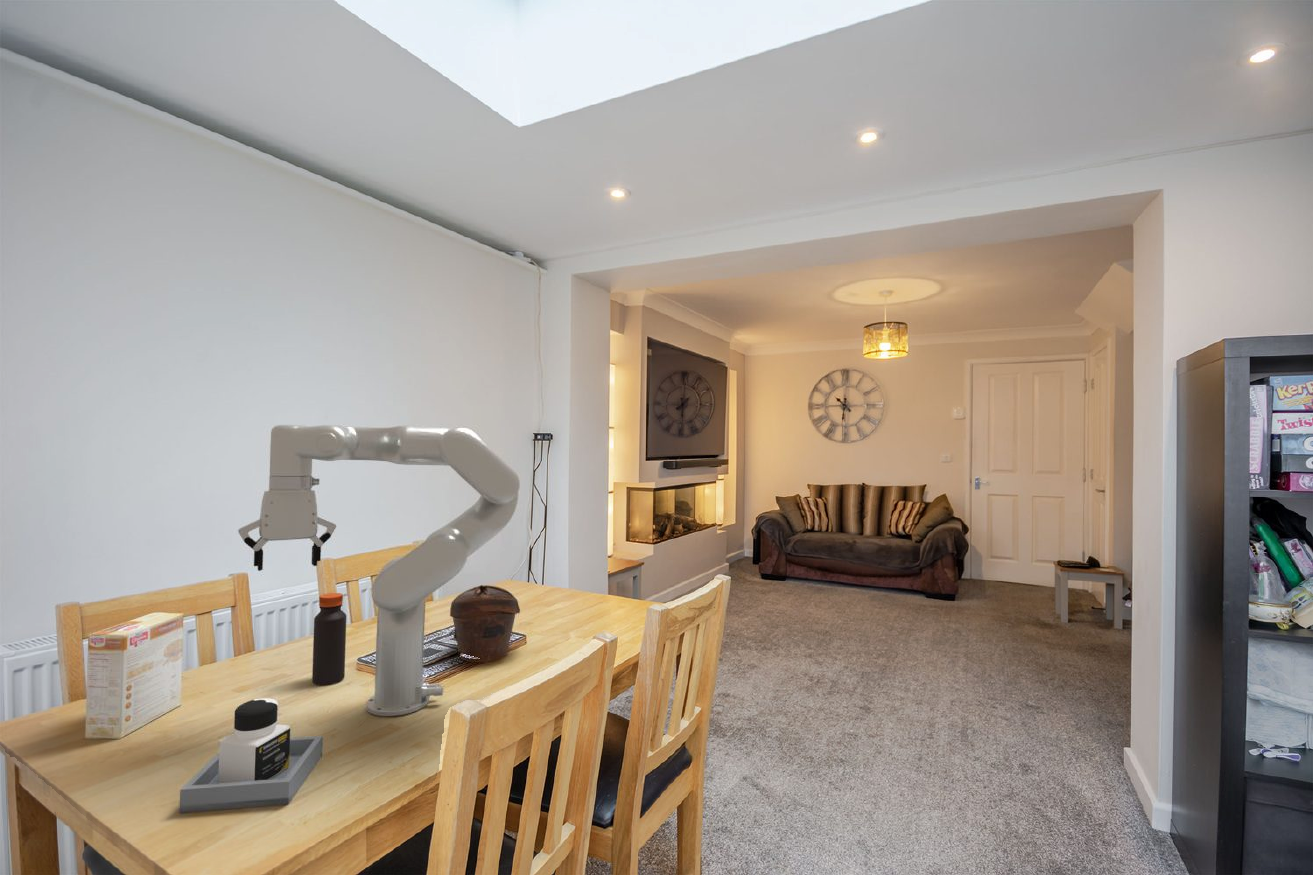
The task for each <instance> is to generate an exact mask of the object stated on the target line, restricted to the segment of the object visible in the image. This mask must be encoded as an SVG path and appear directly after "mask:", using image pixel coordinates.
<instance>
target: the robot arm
mask: <svg viewBox="0 0 1313 875" xmlns="http://www.w3.org/2000/svg"><path fill="white" fill-rule="evenodd" d="M269 447H270V452H269V476H268V490H266V491H265V490H264V493H263V495H262V499H261V506H260V513H259V514H260V516H259V519H257V520H255V521H253V522H251V523H249V524H247V525H243V526H241V527H240V528H238V530H237V532H238V534H239V536H240V537H241V539H242V540H243V542H244V543H245V544H246V545H247V546H248V547H249V548H251V549H253V552H254V553H253V567H257V571H259V572H260V571H263V570H264V569H263V568H264V567H263V565H264V550H263V547H264V546H265V545H266V544H267V543H268V542H272V541H273V542H275V541H290V540H291V541H292V540H304V539H306V540H307V539H310V541H312V542H313V545H312V546H311V566H313V567H318V562H321V556H322V554H321V552H322V546H323V545H324V544H325V543H326V542H327V541H328V540H329V539H330V538H331V536H332V535H333V533H334V532H335V530H336V528H337V525H336V524H335V523H333V522H332V521H329V520H326V519H323V518H322V517H319V516H318V504H317V497H316V492H315V490H314V489H313V487H314V486H319V485H320V478H316V477H313V460H315V461H316V460H317V461H325V462H334V461H335V462H336V461H374V462H375V461H376V462H377V461H379V462H389V463H391V464H396V465H405V466H407V465H409V466H410V465H411V466H412V465H413V466H443V467H445V466H448V467H449V466H450V468H451V469H452V470H453V471H455V473H456V474H457V475H458V476H460V478H462V480H464V481H465V482H466V483H467V484H468V485H469V486H471V487H472V488H473V489H474V490H475V491H476V493H478V494H479V495H480V496H479V498H478V500H477V501H476V502H475V503H474V504H473V505H472V506H470V507H469V508H468V509H466V510H465V511H464V512H462V514H460V515H459V516H457V517H456V518H454V519H453V520H451V521H450V522H448V523H447V524H445V525H443V526H442V527H441V528H439V529H437V530H435V531H434V532H432V533H431V534H429V535H428V536H427V538H426V539H425V540H424V541H423V542H422V543H421V544H419V545H418V546H416V547H415V548H414V549H412V550H411V551H409V552H408V553H407V554H405V555H404V556H403V555H402V556H398V557H395V558H392V559H391V560H389V561H388V562H387V563H386V564H385V565H384V566H383V567H382V569H380V571H379V573H378V574H377V575H376V577H375V578H374V580H373V582H372V584H371V598H372V601H373V602H374V604H375V606H376V607H377V618H376V620H377V622H376V637H375V639H376V640H375V641H376V643H375V672H374V673H375V674H374V675H375V676H374V694H373V695H372V696H371V697H369V698H368V700H367V701H366V705H365V707H366V711H367V712H368V713H370V714H371V715H374V716H379V717H395V716H396V717H397V716H402V715H403V716H404V715H407V714H411V713H414V712H417V711H419V710H421V709H423V708H424V707H426V706H427V705H428V703H429V702H430V699H431V698H430V696H433V697H439V696H440V697H441V696H443V694H444V686H443V685H442V686H440V682H434V683H429V682H427V677H426V676H424V673H423V672H424V649H425V648H424V644H425V643H424V642H425V623H426V622H425V620H426V619H425V618H426V616H425V615H426V599H427V597H428V596H430V595H431V594H433V593H434V592H436V591H437V590H438V589H440V588H441V587H442V586H444V585H445V584H447V583H448V582H449V581H451V580H452V579H453V578H454V577H455V576H457V575H458V574H459V573H460V572H461V571H462V570H463V568H464V567H465V564H466V563H467V560H468V558H469V557H470V556H471V555H472V554H474V553H475V552H477V550H479V549H480V548H481V547H483V546H484V545H485V544H487V543H488V542H489V541H490V540H492V539H493V538H494V537H495V536H497V535H499V533H500V532H502V531H503V530H504V528H505V527H506V526H507V525H508V524H509V522H510V521H511V519H512V517H513V516H514V513H515V511H516V508H517V505H518V500H519V490H520V485H521V482H520V478H519V476H518V475H519V474H517V472H516V471H515V470H514V469H513V468H512V467H511V466H510V465H509V464H508V463H506V462H505V461H504V460H503V459H502V458H501V457H500V456H499V455H498V454H497V453H496V452H495V451H493V450H492V449H491V447H489V446H488V444H486V443H485V442H484V441H483V439H481V438H480V436H479V435H478V434H477V433H476V432H475V431H473V430H472V429H470V428H468V427H447V426H445V427H444V426H443V427H442V426H440V427H439V426H422V425H421V426H420V425H397V426H391V427H370V426H369V427H368V426H367V427H366V426H365V427H364V426H345V425H337V424H324V425H313V426H308V425H302V424H301V425H299V424H277V425H275V426H273V427H272V429H271V431H270V446H269ZM319 525H320V526H322V527H325V528H326V530H325V532H324V533H323V534H322V535H321V536H319V537H318V536H317V534H318V527H319ZM255 529H259V532H258V533H259V536H260V537H259V538H258V539H257V540H256V541H255V540H254V539H253V538H252V537H251V536H250V534H249V532H251V531H253V530H255Z"/></svg>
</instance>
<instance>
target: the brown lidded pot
mask: <svg viewBox="0 0 1313 875" xmlns="http://www.w3.org/2000/svg"><path fill="white" fill-rule="evenodd" d="M520 612H521V609H520V605H519V601H518V599H517V598H516V597H515V596H514V594H513V593H511V592H510V591H509V590H507V589H505V588H502V587H499V586H495V585H489V584H488V585H484V584H483V585H478V586H474V587H472V588H469V589H467V590H465V591H463V592H462V593H460V594H458V595H457V596H456V597H455V598H454V599H453V601H451V604H450V610H449V616H450V617H451V618H452V620H453V628H454V629H453V630H451V631H450V632H449V636H451V635H452V634H453V633H454V634H453V639H455V640H456V644H457V650H459V651H460V652H461V653H463V654H466V655H470V656H474V657H478V658H480V659H469V658H465V657H462V656H461V657H460V656H459V658H460V659H462V661H465V662H469V663H488V662H489V663H490V662H493V661H497V660H500V659H503V658H504V657H505V656H506V655H507V654H508V652H509V648H510V643H511V636H512V632H513V627H514V624H515V619H516V618H515V617H516V615H517V614H520ZM459 651H458V652H459Z"/></svg>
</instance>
